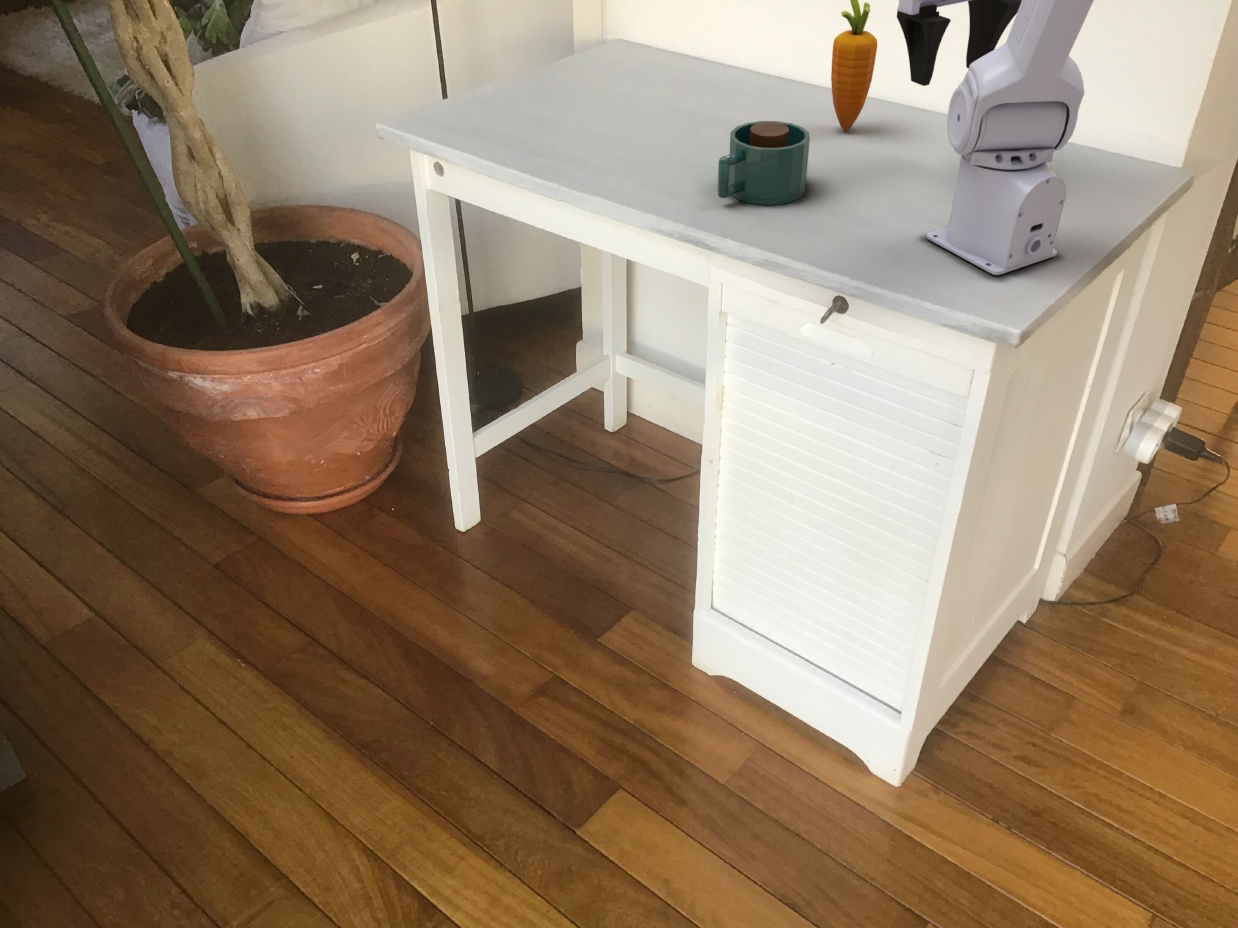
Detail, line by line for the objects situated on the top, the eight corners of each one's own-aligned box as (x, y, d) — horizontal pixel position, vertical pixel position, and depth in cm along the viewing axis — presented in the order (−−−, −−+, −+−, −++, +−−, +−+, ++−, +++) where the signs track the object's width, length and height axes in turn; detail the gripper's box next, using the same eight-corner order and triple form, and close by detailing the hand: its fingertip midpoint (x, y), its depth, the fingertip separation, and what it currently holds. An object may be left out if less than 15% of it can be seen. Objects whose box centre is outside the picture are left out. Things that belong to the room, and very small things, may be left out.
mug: (766, 168, 115) (769, 115, 111) (820, 190, 110) (826, 135, 106) (692, 196, 110) (693, 141, 106) (746, 220, 104) (749, 163, 101)
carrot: (866, 139, 121) (883, 5, 112) (823, 137, 122) (836, 4, 112) (866, 124, 125) (883, -7, 115) (825, 123, 125) (838, -8, 116)
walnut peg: (792, 186, 109) (796, 131, 106) (761, 194, 108) (764, 138, 104) (770, 173, 112) (774, 119, 108) (740, 181, 111) (742, 127, 107)
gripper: (997, -84, 103) (972, 54, 112) (885, -66, 98) (868, 78, 106) (1051, -73, 98) (1021, 71, 107) (937, -53, 93) (914, 97, 101)
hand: (948, 76), depth 106 cm, fingers open, 7 cm apart
